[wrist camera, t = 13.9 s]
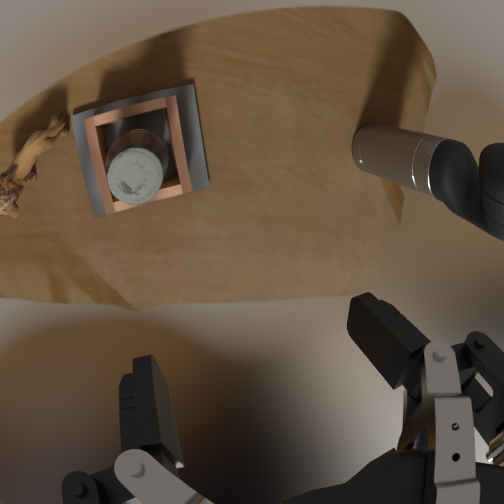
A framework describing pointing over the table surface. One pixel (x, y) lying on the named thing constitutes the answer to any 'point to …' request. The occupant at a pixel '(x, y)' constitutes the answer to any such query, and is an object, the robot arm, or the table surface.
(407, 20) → the table surface
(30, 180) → the lion figurine
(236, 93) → the table surface
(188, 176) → the bottle holder
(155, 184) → the sauce bottle
